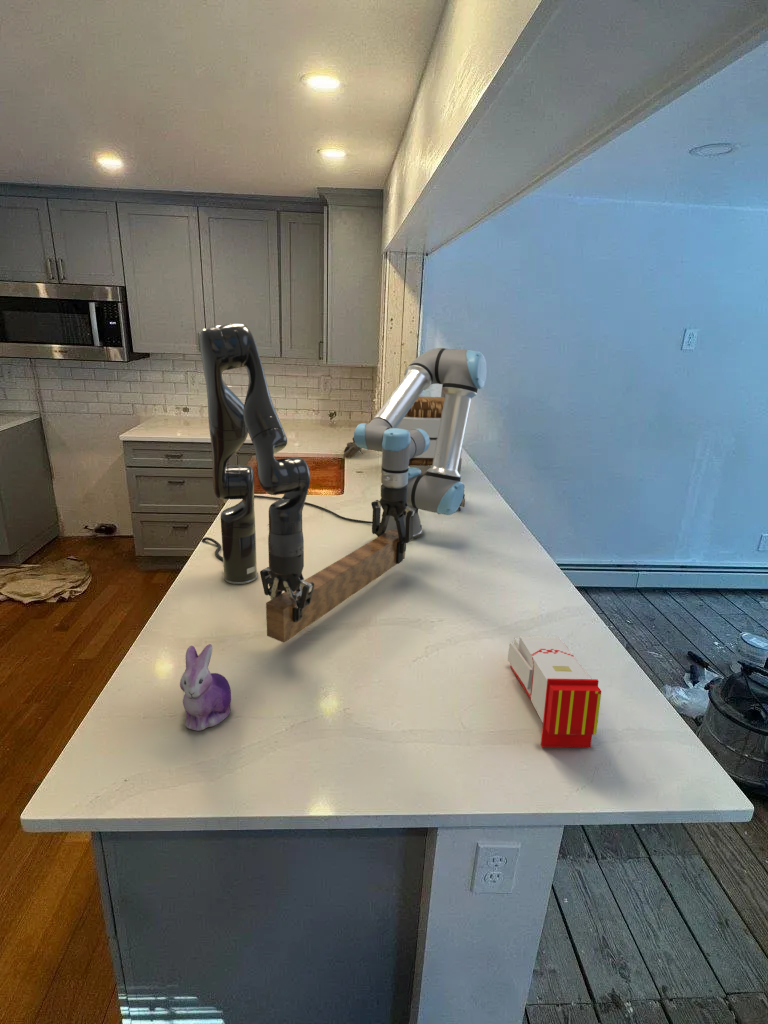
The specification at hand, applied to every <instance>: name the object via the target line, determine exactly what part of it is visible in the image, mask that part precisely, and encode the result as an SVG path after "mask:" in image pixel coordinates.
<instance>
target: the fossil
mask: <svg viewBox="0 0 768 1024" xmlns="http://www.w3.org/2000/svg"><path fill="white" fill-rule="evenodd" d="M362 450H363V448H360V447H358V446H357V445H356V444H355V441H354V436H353V437H352V441H350V442H347V443H346V446H345V448H344V450H343V457H344V458H348V459H349V458H351V457H354V456H355V455H357V454H358V453H359V452H360V454H361V455H364V454H363V452H362Z"/></svg>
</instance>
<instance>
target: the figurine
mask: <svg viewBox="0 0 768 1024" xmlns="http://www.w3.org/2000/svg"><path fill="white" fill-rule="evenodd" d="M213 649H214V648H213V645H212V644H211V643H208V644H206V646H204V648H203V649H202V651H201V652H200V653H199V655H198V651H197V650H196V647H195V646H194V645H190V646H188V647H187V648H186V652H185V659H184V660H185V669H184V672H183V673H182V675H181V678H180V681H179V687H180V690H181V691H182V692H183V693H184V694H183V697H182V705H183V708H184V711H185V714H186V718H185V722H184V723H185V727H186V728H187V729H189V730H194V731H198V732H199V731H204V730H205V729H207V728H213V727H215V726H217V725H219V724H220V723H221V722H222V721H224V720H225V719H227V717H229V715H230V712H231V705H232V689H231V686H230V683H229V681H228V679H227V678H226V677H225V676H224V675H222V674H221V673H219V672H218V673H217V672H212V673H211V671H210V669H209V665H210V662H211V658H212V654H213Z"/></svg>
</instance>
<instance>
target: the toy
mask: <svg viewBox="0 0 768 1024" xmlns="http://www.w3.org/2000/svg"><path fill="white" fill-rule="evenodd" d="M507 662H508V663H509V665H510V669H511V671H512V672H513V674H514V675H515V677H516V678H517V680H518V681H519V683H520V684H521V686H522V688H523V690H524V692H525V693H526V695H527V696H528V698H529V699H530V702H531V703H532V706H533V707H534V709H535V711H536V713H537V715H538V716H539V718H540V721H541V722H542V729H541V739H540V746H541V748H591V747H592V738H593V736H597V730H598V722H599V713H600V707H601V698H602V690H601V688H600V687H599V683H600V681H599V679H597V678H596V679H595V678H592V676H590V674H589V673H588V672H587V671H586V669H585V668H584V667H583V666H582V664H581V663H580V662H579V660H578V659H577V658H576V657H575V655H574V654H573V653H572V651H571V650H570V649H569V648H568V646H567V645H566V644H565V642H564V641H563V640H562V639H561V637H560V636H527V635H526V636H523V635H522V636H521V635H519V637H514V640H513V641H511V642H509V647H508V652H507Z"/></svg>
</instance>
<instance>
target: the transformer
mask: <svg viewBox="0 0 768 1024" xmlns="http://www.w3.org/2000/svg"><path fill="white" fill-rule="evenodd" d="M440 393H441V394H440V396H419V397H418V398H417V400H416V401H415V402H414V404H413V405H412V407H411V408H410V410H409V411H408V412H407V414H406V415H405V417H404V418H403V419H402V421H401V422H400V424H399V425H398V426H397V428H399V429H405V430H412V429H422V430H424V431H425V432H426V433H427V434H428V436H429V439H430V445H429V448H428V449H427V450H426V451H425V452H423V453H422V454H421V455H419V456H416V457H414V458H411V459H410V460H409V467H410V466H411V467H417V466H418V467H431V466H432V464H433V458H434V453H435V448H436V442H437V437H438V431H439V426H440V421H441V415H442V410H443V405H444V399H445V393H444V391H443V390H442V389H441V392H440ZM462 453H463V448H462V449H461V454H460V460H459V465H458V470H457V471H458V473H459V474H460V475H461V472H462V461H463V460H462Z"/></svg>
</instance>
